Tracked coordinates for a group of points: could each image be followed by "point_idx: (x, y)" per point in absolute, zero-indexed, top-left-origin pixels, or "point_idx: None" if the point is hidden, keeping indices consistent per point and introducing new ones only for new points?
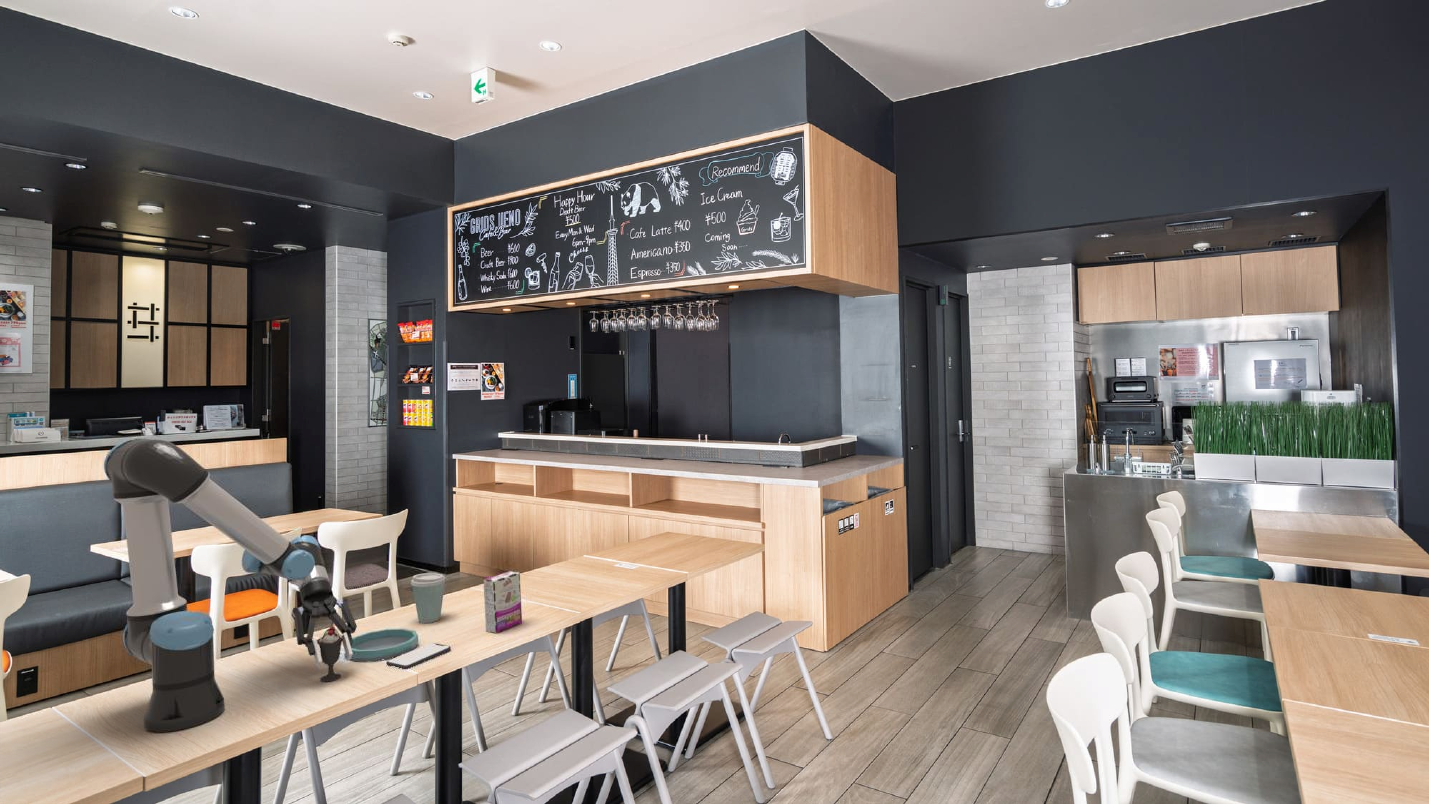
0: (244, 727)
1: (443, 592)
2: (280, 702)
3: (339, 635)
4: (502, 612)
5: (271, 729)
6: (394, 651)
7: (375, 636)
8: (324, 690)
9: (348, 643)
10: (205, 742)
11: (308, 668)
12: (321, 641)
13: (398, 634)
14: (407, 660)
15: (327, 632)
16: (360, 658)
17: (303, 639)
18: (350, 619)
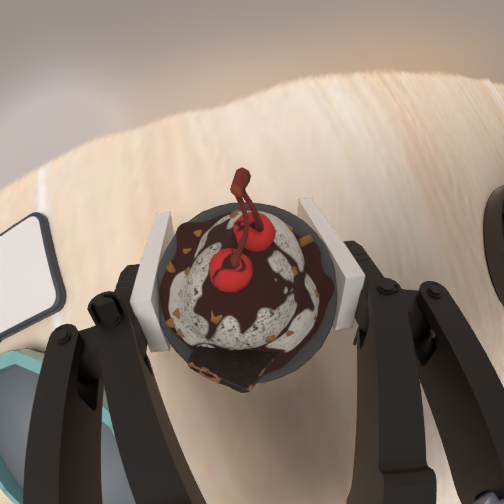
0: (434, 113)
1: None
2: (391, 191)
3: (183, 281)
4: None
5: (387, 69)
6: (24, 349)
7: None
8: (280, 195)
9: (151, 246)
10: (468, 108)
11: (290, 457)
12: (308, 275)
13: (20, 491)
14: (20, 256)
15: (277, 257)
16: None
17: (421, 284)
18: (55, 395)
